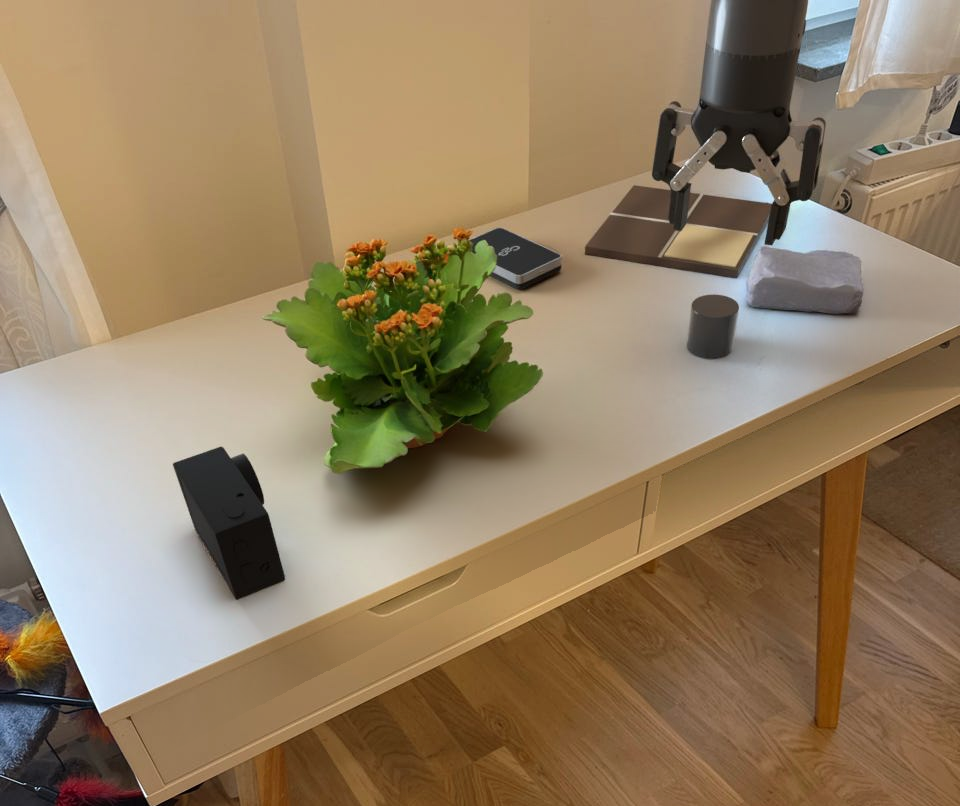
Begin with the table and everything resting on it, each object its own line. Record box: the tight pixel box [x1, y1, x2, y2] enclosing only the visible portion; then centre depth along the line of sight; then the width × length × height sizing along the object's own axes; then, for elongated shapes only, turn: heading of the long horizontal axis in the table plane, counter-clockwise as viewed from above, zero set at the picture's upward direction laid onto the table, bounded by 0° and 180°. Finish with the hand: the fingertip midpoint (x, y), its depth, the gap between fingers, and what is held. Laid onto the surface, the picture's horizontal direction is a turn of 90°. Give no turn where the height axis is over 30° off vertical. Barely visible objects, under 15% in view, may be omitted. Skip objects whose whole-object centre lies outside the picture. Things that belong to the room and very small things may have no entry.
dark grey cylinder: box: [686, 294, 740, 360], centre depth 96 cm, size 5×5×4 cm
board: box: [584, 184, 772, 279], centre depth 115 cm, size 18×18×1 cm
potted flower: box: [262, 227, 544, 475], centre depth 86 cm, size 25×24×18 cm
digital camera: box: [172, 446, 286, 600], centre depth 77 cm, size 10×5×7 cm, turn 30°
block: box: [746, 245, 864, 315], centre depth 104 cm, size 12×5×10 cm
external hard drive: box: [468, 227, 563, 291], centre depth 111 cm, size 7×11×2 cm, turn 41°
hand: (724, 234), depth 90 cm, fingers open, 8 cm apart
